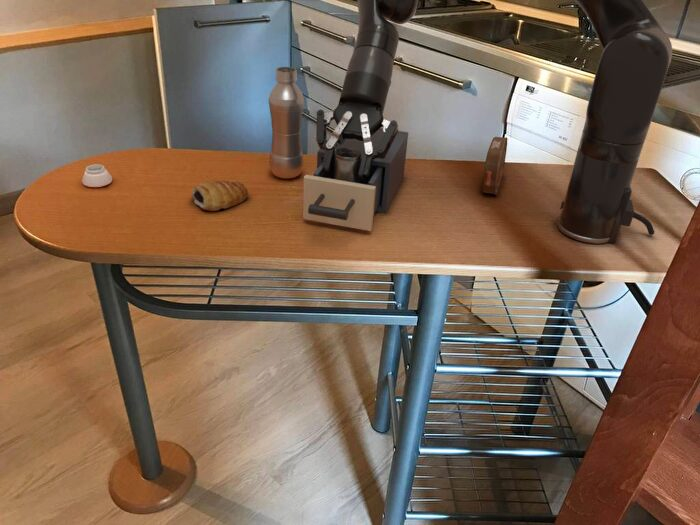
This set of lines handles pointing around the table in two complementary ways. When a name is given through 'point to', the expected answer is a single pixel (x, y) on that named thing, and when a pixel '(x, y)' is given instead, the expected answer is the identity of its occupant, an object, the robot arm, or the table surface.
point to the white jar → (96, 176)
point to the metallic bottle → (286, 124)
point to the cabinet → (382, 163)
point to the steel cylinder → (347, 164)
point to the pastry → (218, 194)
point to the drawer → (343, 198)
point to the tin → (494, 165)
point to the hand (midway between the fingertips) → (344, 175)
